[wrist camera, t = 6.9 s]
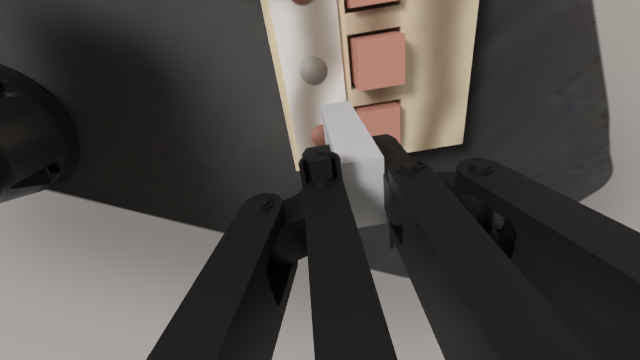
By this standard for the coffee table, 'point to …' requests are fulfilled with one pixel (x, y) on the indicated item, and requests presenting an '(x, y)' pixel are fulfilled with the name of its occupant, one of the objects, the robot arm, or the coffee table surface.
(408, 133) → the board
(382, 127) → the button
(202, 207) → the coffee table surface
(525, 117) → the coffee table surface
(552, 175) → the coffee table surface
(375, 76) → the button
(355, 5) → the button
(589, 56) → the coffee table surface
